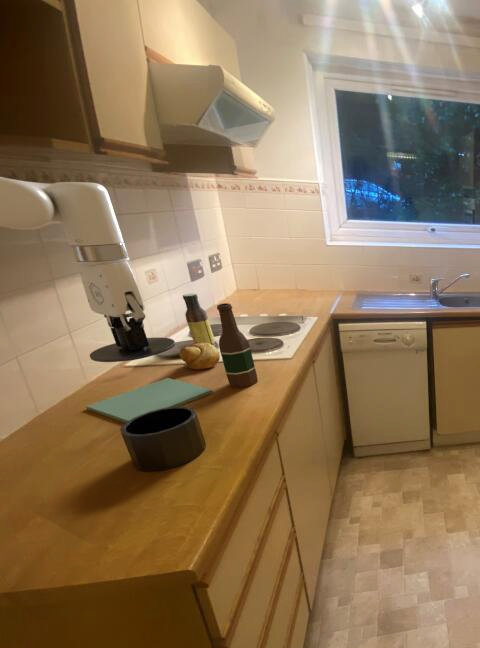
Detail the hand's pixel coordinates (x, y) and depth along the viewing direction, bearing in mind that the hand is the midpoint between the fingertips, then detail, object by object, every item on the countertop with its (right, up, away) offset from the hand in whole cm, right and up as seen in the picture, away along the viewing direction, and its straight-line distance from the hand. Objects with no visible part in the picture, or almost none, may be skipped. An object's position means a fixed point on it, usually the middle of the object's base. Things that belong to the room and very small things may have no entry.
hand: (133, 345), depth 88 cm
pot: (+3, -23, +7) cm, 24 cm away
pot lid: (0, -1, 0) cm, 1 cm away
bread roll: (-24, -4, +55) cm, 60 cm away
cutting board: (-21, -13, +30) cm, 39 cm away
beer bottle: (-3, -9, +41) cm, 42 cm away
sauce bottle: (-34, +2, +69) cm, 76 cm away
